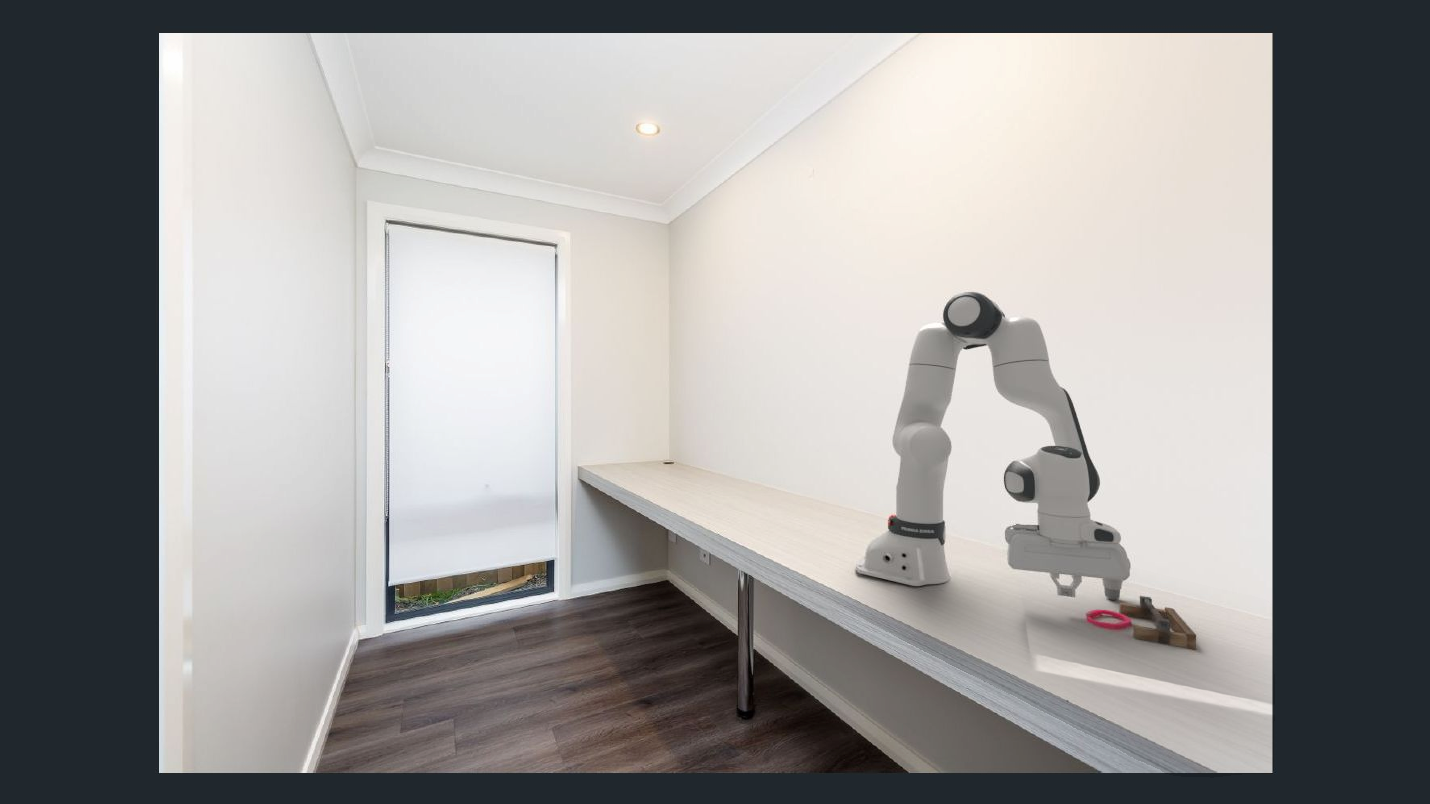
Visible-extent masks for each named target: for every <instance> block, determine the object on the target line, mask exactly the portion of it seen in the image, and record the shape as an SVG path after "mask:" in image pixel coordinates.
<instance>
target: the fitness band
mask: <svg viewBox="0 0 1430 804" xmlns="http://www.w3.org/2000/svg"><path fill="white" fill-rule="evenodd" d="M1103 615H1108V616H1112V617H1114V618H1117V619H1119V620H1120V622H1116V623H1112V622H1105V621H1099V620H1095V619H1096V618H1099V617H1102V616H1103ZM1085 616H1086V617H1085V620H1086V621H1087V622H1088V623H1089V624H1091V625H1093V626H1096V627H1100V628H1103V629H1108V630H1117V631H1118V630H1123V629H1127V628H1129V627H1131V626H1132V620H1131V618H1130V617H1129V616H1126V615H1123V614H1120V613H1119V612H1116V611H1114V610H1108V609H1093V610H1090V611H1086V612H1085Z"/></svg>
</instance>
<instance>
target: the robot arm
mask: <svg viewBox="0 0 1430 804" xmlns="http://www.w3.org/2000/svg"><path fill="white" fill-rule="evenodd" d="M942 321H943V322H941V323H930V324H927V325H924V326H923V327H921V328H920V329H919V331H918V333H917V336H916V338H915V340H914V343H913V346H912V350H911V353H910V357H909V363H908V369H907V375H906V380H905V387H904V392H903V397H902V401H901V404H900V407H899V411H898V414H897V418H896V423H895V426H894V431H893V435H892V446H893V448H894V451H895V453H896V454H897V455H898V456H899V457H900V459H899V461H900V463H899V470H898V471H899V472H898V477H897V478H898V479H897V483H896V488H895V489H896V490H895V491H896V494H895V495H896V496H895V497H896V504H895V505H896V508H895V509H896V510H895V513H896V514H890V515H889V517H888V520H887V529H888V530H887V531H885V532H884V533H882V534H880V535H879V536H877V537H875V538H874V539H873V540H871V541H870V543H868V545H867V547H866V551H865V556H864V557H862V558H860V559H859V560H857V562H856V565H855V570H856V572H857V573H859V574H862V575H866V576H870V577H874V578H879V579H884V580H886V581H887V580H888V581H892V582H896V583H900V584H904V585H909V586H912V587H920V586H925V585H937V584H938V585H939V584H944V583H947V582H949V581H950V580H951V576H950V572H949V569H948V564H947V559H946V558H947V557H946V551H945V543H946V538H947V537H946V521H945V520H944V488H945V481H946V476H947V471H948V463H949V457H950V455H951V454H952V453H951V452H952V447H953V446H952V441H951V438H950V437H949V435H948V433H947V432H946V431H945V429H943V428H942V427H941V426H942V423H943V421H944V417H945V415H946V412H947V409H948V407H949V405H950V403H951V402H952V401H951V400H952V397H953V389H954V385H955V384H954V383H955V378H956V371H957V365H958V359H959V355H960V353H961V351H962V350H971V349H975V348H980V347H986V346H987V347H988V348H989V351H990V355H991V363H992V372H993V373H992V374H993V382H994V386H995V388H996V390H997V392H998V393H999V394H1000V395H1001V396H1002V397H1003V398H1004V399H1005V400H1007V401H1008V402H1009V403H1012V404H1014V405H1016V406H1018V407H1022V408H1026V409H1029V410H1031V411H1033V412H1036V413H1037V414H1039V415H1041V417H1042V418H1044V419H1045V420H1046V421H1047V423H1048V426H1049V428H1050V432H1051V434H1052V439H1053V441H1054V445H1045V446H1042V447H1041V448H1038V450H1037V452H1036V453H1034V454H1033V455H1031V456H1029V457H1025V458H1022V459H1018V460H1014V461H1011V462H1010V463H1009V464H1008V465H1007V467H1006V468H1005V469H1004V470H1005V471H1004V473H1003V483H1004V484H1003V485H1004V489H1005V491H1006V492H1007V493H1008V495H1009V496H1010V497H1011V498H1012V499H1014V500H1016V502H1021V503H1026V504H1037V511H1036V513H1037V524H1020V523H1013V524H1012V525H1009V526H1007V527H1006V528H1005V531H1004V539H1005V542H1006V543H1007V544H1008V545H1007V554H1006V555H1007V556H1006V557H1007V559H1006V560H1007V564H1008V565H1009V567H1010V568H1012V569H1013V570H1017V571H1018V570H1019V571H1028V572H1036V573H1047V574H1048V573H1049V576H1050V579H1051V580H1052V582H1053V583H1054V584H1055V586H1056V595H1057V596H1060V597H1061V596H1062V597H1070V598H1076V590H1077V589H1078V587H1079V586H1080V585H1081V584H1082V582H1083V581H1082V580H1083V579H1082V578H1085V577H1086V578H1093V579H1094V578H1096V579H1102V578H1103V579H1113V580H1122V581H1123V582H1124V581H1126V580H1127V579H1129V577H1130V575H1131V568H1130V569H1129V562H1128V559H1129V557H1128V554H1127V551H1126V549H1125V548H1124V546H1123V545H1121V543H1120V542H1121V541H1122V537H1121V536H1122V535H1121V533H1120V532H1119V531H1118V529H1116V528H1115V527H1113V526H1111V525H1108V524H1106V523H1103V522H1100V521H1096V520H1093V519H1091V512H1090V508H1089V504H1088V503H1089V502H1090V501H1091V500H1092V499H1094V497H1095V496H1096V495H1097V493H1098V491H1099V488H1100V485H1101V479H1100V475H1099V473H1098V470H1097V468H1096V466H1095V465H1094V463H1093V460H1092V459H1091V456H1090V454H1089V451H1088V447H1087V445H1086V442H1085V438H1084V435H1083V432H1082V428H1081V424H1080V421H1079V418H1078V415H1077V412H1076V408H1075V406H1074V402H1073V400H1072V399H1071V398H1072V397H1071V396H1070V393H1069V392H1068V391H1067V390H1066V389H1065V388H1063V387H1062V386H1061V385H1060V384H1059V383H1058V382H1057V379H1056V378H1055V376H1054V374H1053V371H1052V369H1051V365H1050V358H1049V352H1048V348H1047V343H1046V339H1045V337H1044V333H1043V330H1042V329H1041V326H1040V323H1038V322H1037V321H1036V320H1035V319H1033V318H1030V317H1025V316H1016V317H1015V316H1014V317H1006V315H1005V313H1004V312H1003V311H1002V309H1001V308H1000V307H999V305H998V304H997V303H996V302H995V301H993V300H992V299H990V298H989V297H988V296H986V295H985V294H983V293H980V292H976V291H962V292H960V293H957V294H956V295H954V296H952V297H951V298H950V299H949V300H948V301H947V303H946V305H944V308H943V313H942ZM1060 575H1066V576H1070V577H1071V578H1072V580H1073V581H1072V580H1071V583H1070V584H1069V585H1066V584H1065V585H1064V584H1060V582H1059V581H1058V580H1059V579H1060Z"/></svg>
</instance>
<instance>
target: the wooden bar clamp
mask: <svg viewBox="0 0 1430 804" xmlns="http://www.w3.org/2000/svg"><path fill="white" fill-rule="evenodd" d="M1152 602H1153V601H1152V598H1151V597H1149V596H1144V595H1139V605H1137V604H1131V603H1124V602H1119V604H1118V605H1119V611H1118V613H1120V614H1123V615H1125V616H1127V617H1132V618H1139V619H1144V620H1152V621H1155V623H1156V624H1155V627H1154V628H1153V627H1149V626H1143V625H1138V624H1137V625H1136V624H1132V625H1133V626H1132V627H1133V629H1132V630H1133V631H1132V632H1133V633H1132V635H1133V638H1134V639H1135V640H1142V641H1147V642H1152V643H1158V644H1164V645H1168V646H1175V647H1179V648H1185V649H1189V650H1194V651H1195V650H1197V635H1196V633H1195V632H1194V631H1193V629H1191V628H1190V626H1189V625H1188V624H1187V622H1186V621H1185V620H1184V619H1183V618H1182V617H1181V616H1180V615H1179V614H1178V613H1177V612H1176V610H1175V609H1174V608H1172V607H1167V606H1164V609H1163V608H1158V607H1155V606H1154V604H1153V603H1152ZM1171 630H1172V631H1171Z"/></svg>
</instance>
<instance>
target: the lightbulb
mask: <svg viewBox="0 0 1430 804" xmlns="http://www.w3.org/2000/svg"><path fill="white" fill-rule="evenodd" d="M1129 559H1130V558H1128V562H1129V569H1130V570H1131V562H1130V561H1131V560H1129ZM1101 580H1102V585H1103V587H1104V588H1103V589H1104V596H1105V597H1107V598H1108V599H1109V600H1110V601H1116V600H1118V599H1120V597H1121V590H1122V587H1123V582H1124V581H1122V580H1113V579H1103V578H1101Z"/></svg>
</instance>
